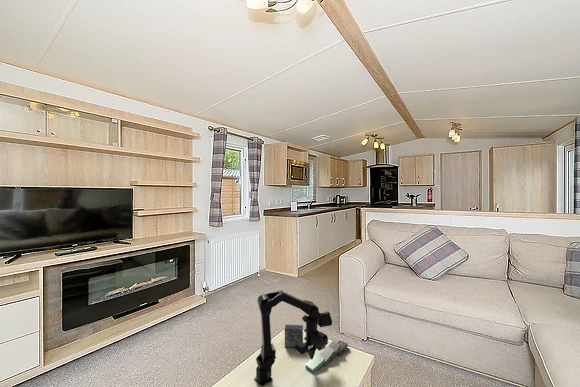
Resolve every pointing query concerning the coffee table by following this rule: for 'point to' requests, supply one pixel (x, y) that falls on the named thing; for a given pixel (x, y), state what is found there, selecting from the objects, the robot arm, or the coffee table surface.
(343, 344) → the tile
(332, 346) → the tile
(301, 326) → the small box
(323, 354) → the tile
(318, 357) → the tile
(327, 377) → the coffee table surface
